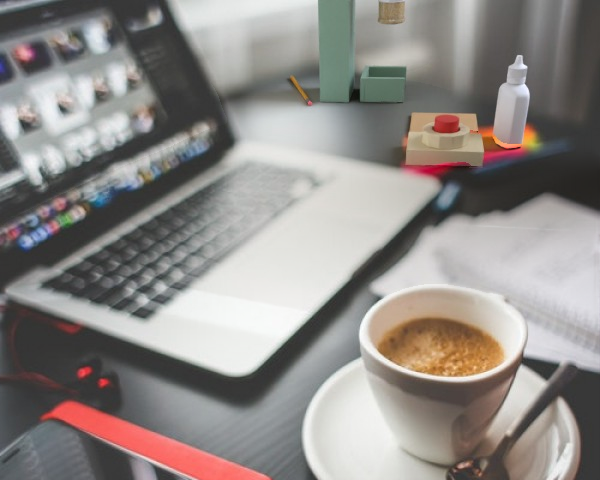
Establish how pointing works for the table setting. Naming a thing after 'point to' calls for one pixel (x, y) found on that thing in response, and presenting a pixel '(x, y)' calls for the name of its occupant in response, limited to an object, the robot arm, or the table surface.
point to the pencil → (301, 91)
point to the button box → (444, 147)
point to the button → (446, 124)
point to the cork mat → (424, 118)
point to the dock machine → (350, 60)
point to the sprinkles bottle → (391, 11)
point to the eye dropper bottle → (512, 105)
